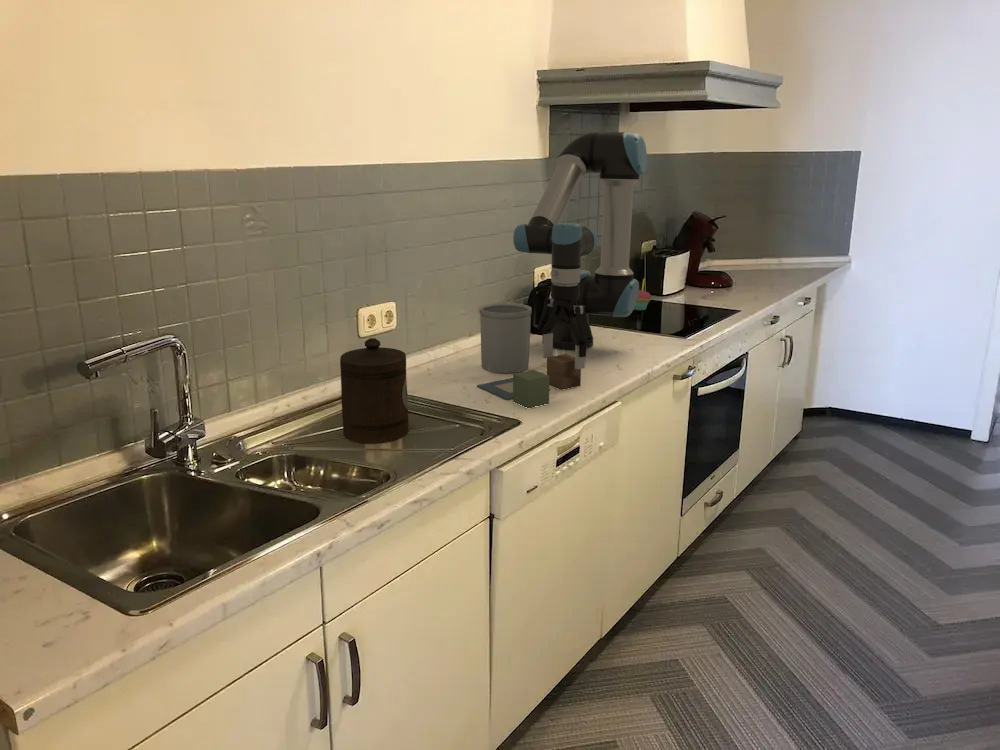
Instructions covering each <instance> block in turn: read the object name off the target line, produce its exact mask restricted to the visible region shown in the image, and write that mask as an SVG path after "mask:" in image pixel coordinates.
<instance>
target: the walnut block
mask: <svg viewBox="0 0 1000 750" xmlns="http://www.w3.org/2000/svg"><path fill="white" fill-rule="evenodd" d="M546 375H549V387H550V386H551V387H553V388H555V389H557V388H558V389H557V390H561V391H564V390H563V389H565V390H568V388H569V389H573V388H577V386H578V387H581V384H582V383H581V381H582V380H581V378H582V376H581V375H582V369H577V370H576V369H575V356H573V355H571V354H568V353H563V354H559V355H554V356H553V355H552V357H547V358H546ZM572 387H573V388H572Z"/></svg>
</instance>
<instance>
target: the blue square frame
mask: <svg viewBox="0 0 1000 750" xmlns="http://www.w3.org/2000/svg"><path fill="white" fill-rule="evenodd" d="M476 387H477V388H479V389H481V390H483V391H485V390H486V391H485V392H487V391H488V393H489V392H490V394H491V393H492V395H494V396H496V397H498V398H501V400H505V401H506V400H507V401H510V400H513V377H509V378H505V379H500V380H499V379H498V380H495V381H490V382H486V383H481V384H477V385H476ZM550 391H551V388H549V392H550Z"/></svg>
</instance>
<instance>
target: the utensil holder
mask: <svg viewBox="0 0 1000 750" xmlns="http://www.w3.org/2000/svg"><path fill="white" fill-rule="evenodd" d="M532 311H533V310H532V306H529V305H526V304H522V303H516V302H515V303H514V302H493V303H487V304H483V305H481V306H479V308H478V312H479V313H478V314H479V315H480V359H481V360H480V361H481V368H482V369H483V370H485V371H487V372H492V373H498V374H515V373H520V372H525V371H527V370H528V368H529V365H530V348H531V325H532V324H531V315H532Z"/></svg>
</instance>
